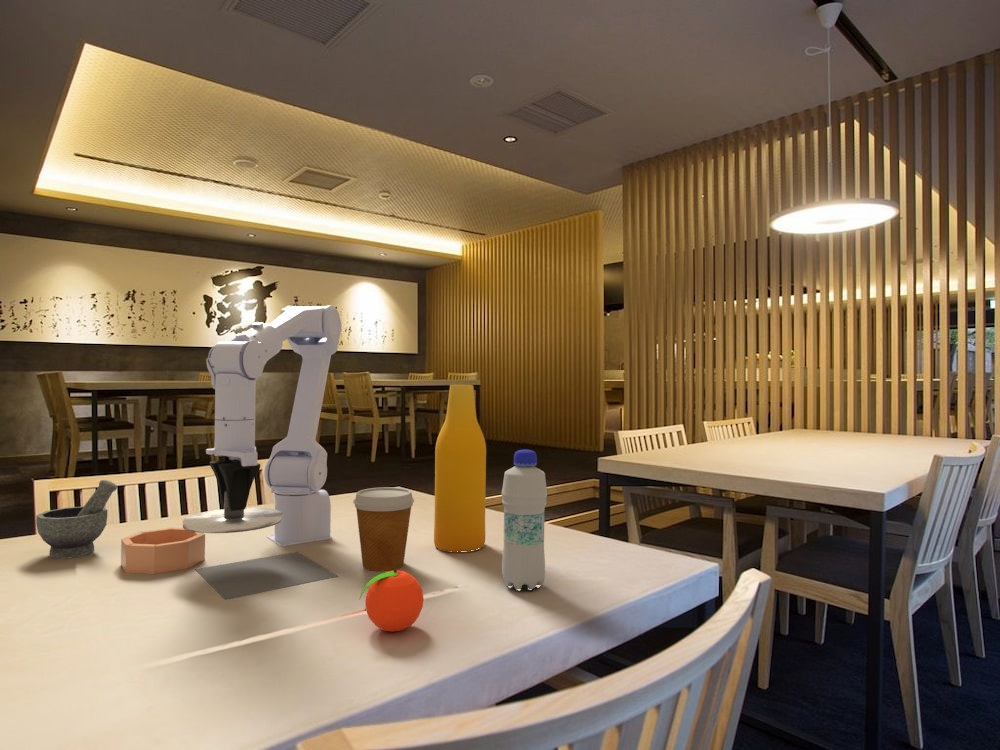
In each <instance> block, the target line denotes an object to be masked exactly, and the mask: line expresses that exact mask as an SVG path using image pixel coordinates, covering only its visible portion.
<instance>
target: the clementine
mask: <svg viewBox="0 0 1000 750" xmlns="http://www.w3.org/2000/svg"><path fill="white" fill-rule="evenodd" d="M367 588H368V589H367ZM366 589H367V592H366V594H365V610H366V614H367V616H368V619H369V620H370V622H372V623H373V624H374V626H376V627H377V628H379V629H380V630H383V631H385V632H400V631H405V630H406V629H407V628H409V627H410V626H412V625H414V623H415V622H416V620H417V619H418V618H419V617H420V614H421V612H422V609H423V606H424V600H425V599H424V592H423V589H422V586H421V585H420V582H419V581H418V580H417V578H416V577H414V576H413V575H412V574H410V573H408V572H406V571H404V570H399V569H395V570H391V571H384V572H382V573H380V574H377V575H376V576H374V577H372V579H370V580H369V581H368V582H367V583H366V584H365V586H364V587H363V589H362V590H361V594H360V597H359V598H358V599H359V601H360V599H361V597H362V596H363V594H364V592H365V590H366Z"/></svg>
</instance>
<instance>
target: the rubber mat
mask: <svg viewBox="0 0 1000 750" xmlns="http://www.w3.org/2000/svg"><path fill="white" fill-rule="evenodd" d="M194 570H195V571H196V572H197V573H198V574H199V575H200V577H202V578H203V579H204V580H205V581H206V582H207V583H208V584H209V585H210V586H211V587H212V588H213V589H214V590H215V591H216V593H218V594H219V595H220V596H221V597H222V599H224V600H225V601H227V600H231V599H235V598H240V597H244V596H245V597H246V596H250V595H255V594H259V593H261V594H262V593H265V592H269V591H274V590H280V589H284V588H285V589H286V588H289V587H294V586H299V585H304V584H308V583H313V582H318V581H324V580H328V579H332V578H338V577H339V575H338V574H336V573H334V572H333V571H331V570H330V569H328V568H327V567H324V566H323V565H321V564H319V563H318V562H316V561H315V560H313V559H311V558H309V557H307V556H306V555H305V554H303V553H301V552H299V551H294V552H293V551H292V552H288V553H283V554H282V553H281V554H276V555H275V554H274V555H270V556H264V557H260V558H259V557H258V558H254V559H253V558H252V559H248V560H241V561H236V562H235V561H234V562H229V563H223V564H218V565H212V566H207V567H200V568H195V569H194Z"/></svg>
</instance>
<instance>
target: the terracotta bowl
mask: <svg viewBox="0 0 1000 750" xmlns="http://www.w3.org/2000/svg"><path fill="white" fill-rule="evenodd" d="M120 540H121V541H120V543H121V545H120V549H121V550H120V565H121V568H123V570H124V572H125V573H127V574H128V573H130V574H131V573H132V574H150V575H151V574H153V575H155V574H162V573H167V572H172V571H179V570H184V569H189V568H191V567H193V566H194V565H197V564H198V563H201V562H203V561H204V560H205V559H206V557H205V556H206V533H198V532H192V531H188V530H185V529H184V528H183V527H168V528H160V529H152V530H150V529H149V530H144V531H139V532H137V533H134V534H131V535H128V536H125V537H122V538H121V539H120Z"/></svg>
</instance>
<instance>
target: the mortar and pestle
mask: <svg viewBox="0 0 1000 750" xmlns="http://www.w3.org/2000/svg"><path fill="white" fill-rule="evenodd" d="M117 489H118V485H117V484H116V483H115V482H112V481H110V480H107V479H103V480H102V479H101V480H100V481H99V482H98V487H97V488H96V490H95V491H94V493H93V494H92V495H91V496H90V498H89V499H88V500H87V502H85V504H84V506H70V507H63V508H57V509H56V508H55V509H51V510H46V511H44V512H41V513H38V514H36V515H35V516H36V520H35V521H36V523H35V524H36V528H37V533H38V534H39V536H40V538H41V540H43V542H44V543H46V544H47V545H49V546H50V549H49V554H48V555H50V556H51V557H52V558H51V557H50V556H49V557H50V558H51V559H58V558H65V559H69V558H68V557H74V558H79V556H80V557H84V556H87V555H86V554H88V555H90V554H92V553H93V551H94V552H95V544H94V541H96V539H98V538H99V537H100V536H101V535H102V533H103V531H104V530H105V528H106V526H107V521H108V509H107V508H105V506H106V505H107V503H108V501H109V500H110V497H111V496H112V494H113V493H114V492H115V491H117ZM91 552H92V553H91ZM89 553H90V554H89ZM83 555H84V556H83Z"/></svg>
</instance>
